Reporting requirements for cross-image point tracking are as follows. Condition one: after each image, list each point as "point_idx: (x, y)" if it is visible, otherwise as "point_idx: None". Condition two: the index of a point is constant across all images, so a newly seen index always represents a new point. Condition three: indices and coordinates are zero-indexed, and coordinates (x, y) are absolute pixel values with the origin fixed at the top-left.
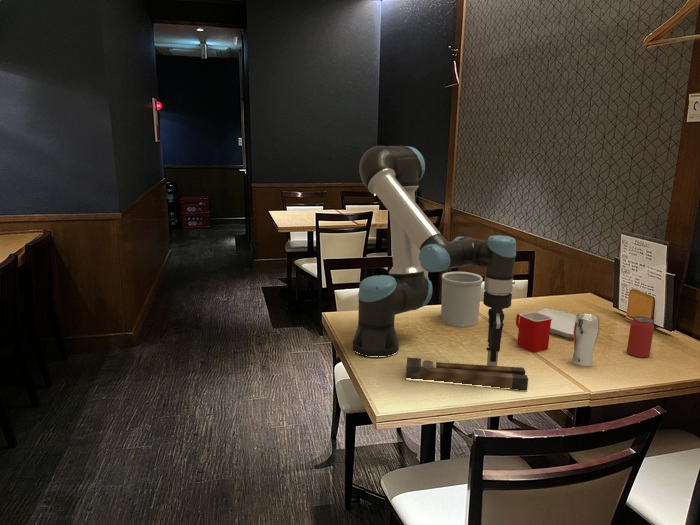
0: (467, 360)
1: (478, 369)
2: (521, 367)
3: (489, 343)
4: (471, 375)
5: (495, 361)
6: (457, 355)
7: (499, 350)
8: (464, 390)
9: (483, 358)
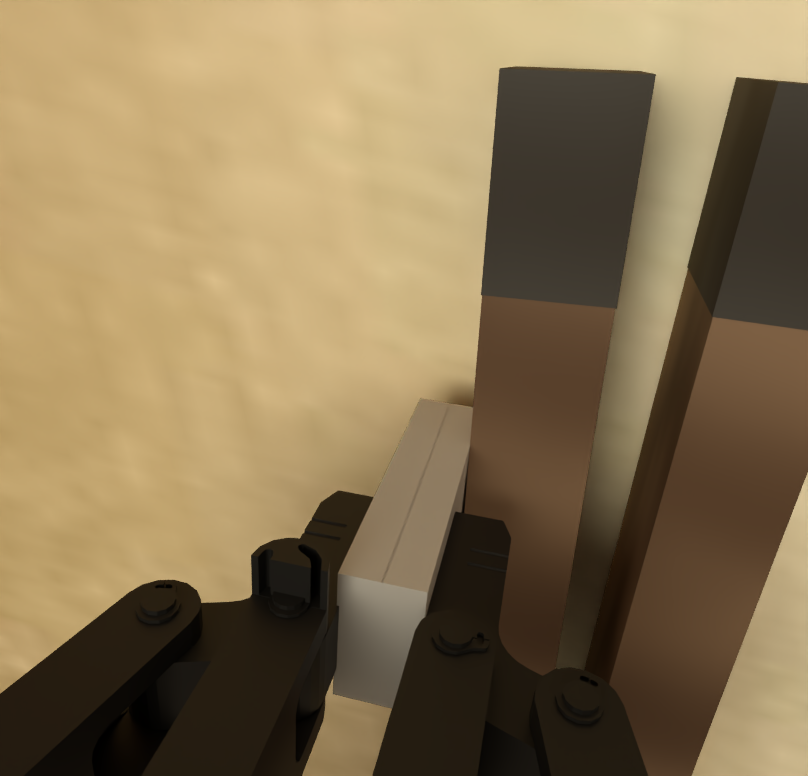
0: (134, 524)
1: (557, 649)
2: (498, 105)
3: (306, 751)
4: (697, 740)
5: (503, 529)
6: (57, 572)
7: (622, 708)
8: (771, 716)
9: (43, 374)
